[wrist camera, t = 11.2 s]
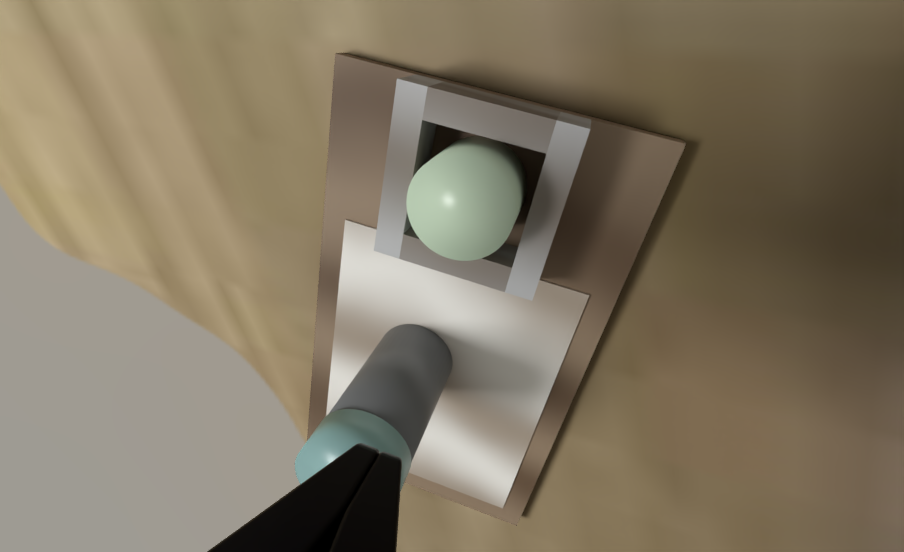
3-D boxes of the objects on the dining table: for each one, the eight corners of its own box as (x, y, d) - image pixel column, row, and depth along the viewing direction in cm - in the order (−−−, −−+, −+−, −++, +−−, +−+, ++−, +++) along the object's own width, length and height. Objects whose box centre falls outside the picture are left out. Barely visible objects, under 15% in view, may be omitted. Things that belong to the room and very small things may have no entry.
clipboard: (518, 515, 25) (511, 558, 23) (312, 437, 27) (288, 470, 25) (683, 140, 15) (695, 156, 13) (343, 52, 17) (307, 55, 15)
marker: (445, 398, 22) (387, 535, 16) (375, 373, 22) (292, 497, 16) (460, 338, 20) (402, 467, 14) (384, 312, 21) (297, 426, 15)
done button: (512, 241, 18) (498, 274, 15) (425, 215, 18) (399, 243, 16) (539, 150, 16) (528, 171, 13) (442, 124, 16) (415, 140, 14)
